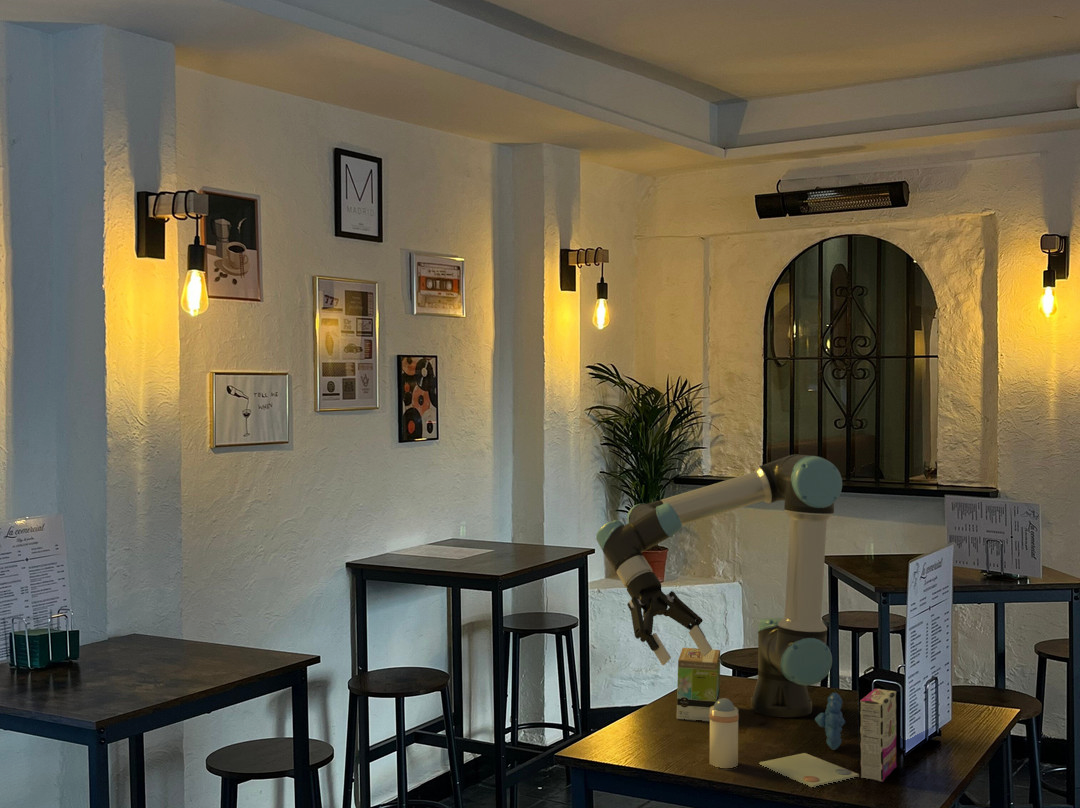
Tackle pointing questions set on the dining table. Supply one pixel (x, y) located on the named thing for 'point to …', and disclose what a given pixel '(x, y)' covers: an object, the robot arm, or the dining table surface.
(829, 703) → the grapes
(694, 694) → the tea box
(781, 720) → the dining table surface
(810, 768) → the card
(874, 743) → the candy bar box
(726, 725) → the ball tube
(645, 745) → the dining table surface
